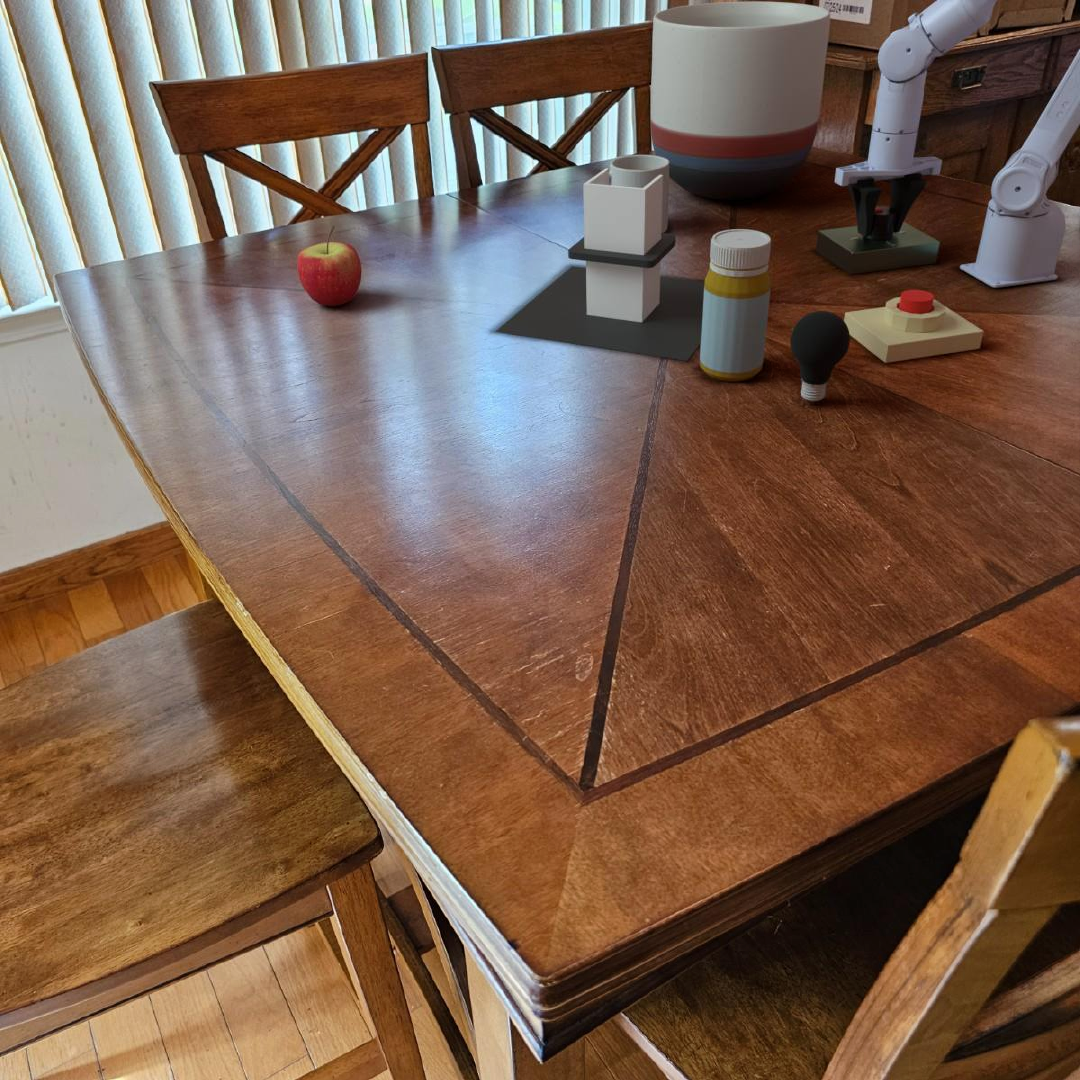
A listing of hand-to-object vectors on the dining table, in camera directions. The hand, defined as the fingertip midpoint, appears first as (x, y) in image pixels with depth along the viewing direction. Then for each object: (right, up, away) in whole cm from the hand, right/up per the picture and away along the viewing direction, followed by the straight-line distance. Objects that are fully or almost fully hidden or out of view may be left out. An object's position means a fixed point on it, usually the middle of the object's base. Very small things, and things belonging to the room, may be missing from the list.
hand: (878, 232), depth 137 cm
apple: (-75, -11, -4) cm, 76 cm away
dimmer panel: (0, -3, +2) cm, 3 cm away
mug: (-33, +6, +16) cm, 37 cm away
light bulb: (-18, -28, -32) cm, 47 cm away
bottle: (-25, -24, -25) cm, 43 cm away
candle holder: (-36, -13, -9) cm, 40 cm away
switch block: (-3, -19, -20) cm, 28 cm away
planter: (-15, +16, +30) cm, 37 cm away
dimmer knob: (0, 0, 0) cm, 0 cm away
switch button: (-4, -16, -23) cm, 28 cm away
